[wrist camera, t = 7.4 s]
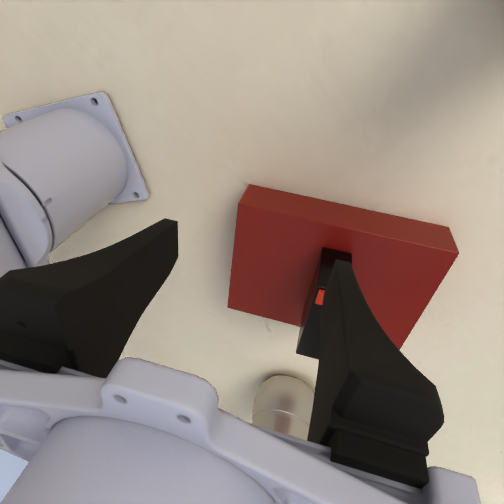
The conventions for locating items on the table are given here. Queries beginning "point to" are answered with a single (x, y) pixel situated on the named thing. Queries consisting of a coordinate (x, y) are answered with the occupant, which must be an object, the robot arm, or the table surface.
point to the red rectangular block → (339, 238)
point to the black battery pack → (317, 302)
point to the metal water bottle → (284, 406)
